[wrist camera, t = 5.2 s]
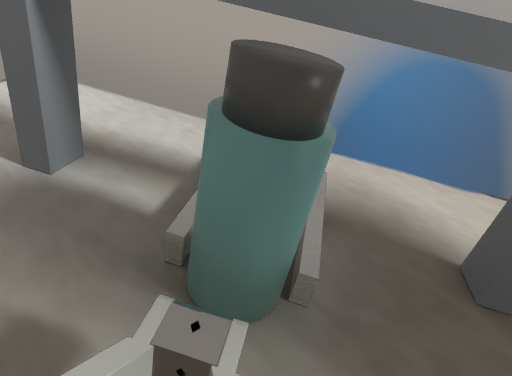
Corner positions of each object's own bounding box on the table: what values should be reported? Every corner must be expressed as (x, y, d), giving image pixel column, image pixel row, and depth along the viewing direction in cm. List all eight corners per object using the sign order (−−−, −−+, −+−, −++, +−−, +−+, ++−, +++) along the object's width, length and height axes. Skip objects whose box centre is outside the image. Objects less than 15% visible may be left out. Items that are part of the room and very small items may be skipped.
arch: (490, 275, 27) (665, 61, 18) (512, 315, 24) (739, 75, 15) (58, 147, 30) (28, -87, 22) (23, 165, 27) (-30, -103, 18)
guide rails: (319, 194, 33) (327, 173, 31) (307, 306, 21) (318, 279, 19) (226, 168, 33) (230, 145, 32) (163, 260, 22) (165, 231, 20)
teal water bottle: (286, 263, 23) (355, 61, 16) (271, 336, 18) (363, 89, 11) (205, 238, 24) (238, 31, 17) (169, 303, 19) (193, 45, 12)
